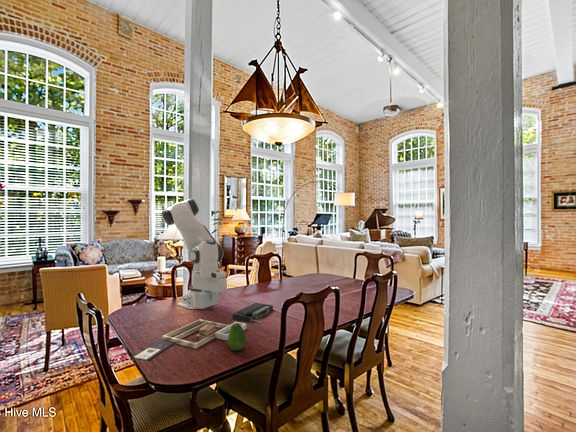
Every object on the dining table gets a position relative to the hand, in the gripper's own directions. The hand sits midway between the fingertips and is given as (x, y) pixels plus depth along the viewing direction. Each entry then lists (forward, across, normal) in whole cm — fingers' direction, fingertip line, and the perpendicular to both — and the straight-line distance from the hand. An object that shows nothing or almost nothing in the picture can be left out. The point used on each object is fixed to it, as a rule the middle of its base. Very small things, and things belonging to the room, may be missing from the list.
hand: (209, 299), depth 156 cm
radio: (+18, +6, +36) cm, 40 cm away
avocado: (+18, +24, -9) cm, 31 cm away
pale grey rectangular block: (+3, 0, 0) cm, 3 cm away
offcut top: (+15, +2, -3) cm, 16 cm away
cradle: (+17, +10, +6) cm, 21 cm away
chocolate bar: (+18, -8, -26) cm, 33 cm away
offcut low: (+18, +2, -4) cm, 18 cm away
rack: (+17, -4, -4) cm, 18 cm away
